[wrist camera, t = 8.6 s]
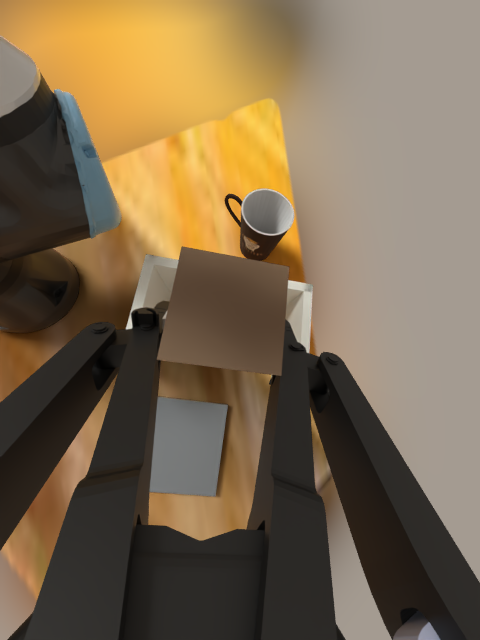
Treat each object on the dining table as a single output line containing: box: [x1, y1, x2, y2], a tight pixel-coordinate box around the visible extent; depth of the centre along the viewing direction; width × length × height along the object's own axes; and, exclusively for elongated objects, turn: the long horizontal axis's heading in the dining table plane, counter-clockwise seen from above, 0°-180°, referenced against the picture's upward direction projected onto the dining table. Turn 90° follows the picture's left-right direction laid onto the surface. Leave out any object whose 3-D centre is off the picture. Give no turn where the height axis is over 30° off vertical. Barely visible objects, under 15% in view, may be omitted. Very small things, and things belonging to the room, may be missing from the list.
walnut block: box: [157, 247, 289, 376], centre depth 15 cm, size 5×5×14 cm
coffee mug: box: [225, 189, 294, 261], centre depth 37 cm, size 12×9×10 cm
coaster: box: [150, 396, 228, 496], centre depth 32 cm, size 13×13×1 cm
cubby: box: [126, 254, 313, 377], centre depth 31 cm, size 14×22×12 cm, turn 83°
